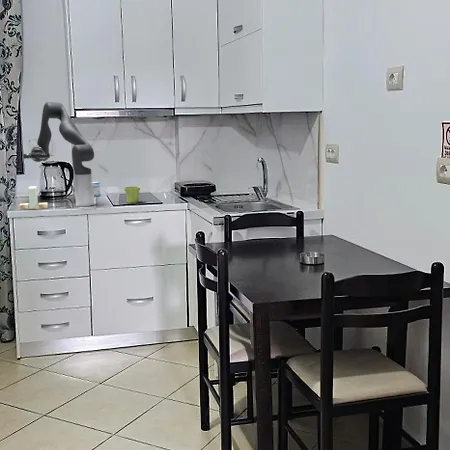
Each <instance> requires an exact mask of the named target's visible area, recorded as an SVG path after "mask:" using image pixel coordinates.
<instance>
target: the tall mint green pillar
mask: <svg viewBox="0 0 450 450" xmlns="http://www.w3.org/2000/svg"><path fill="white" fill-rule="evenodd" d="M27 190H28V203H29V207H30V209H29V210H38V209H37V207H38V204H39V203H38V201H39V200H38V186H29V187H28V188H27Z"/></svg>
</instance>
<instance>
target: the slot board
mask: <svg viewBox="0 0 450 450" xmlns="http://www.w3.org/2000/svg"><path fill="white" fill-rule="evenodd" d="M48 205H49V204H48V202H39V203H38V207H37V209H36V210H44V209H48V207H49V206H48ZM18 209H19V210H20V209H26V210H31V209H30V207H29V202H27V203H26V202H24V203H19V208H18Z"/></svg>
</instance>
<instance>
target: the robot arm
mask: <svg viewBox="0 0 450 450" xmlns="http://www.w3.org/2000/svg"><path fill="white" fill-rule="evenodd" d="M41 114H42V115H41V123H40V129H39V135H38V139H37V141H36V142H37V143H36V144H37V146H34V147H32V149H31V150H30V153H23V159H24V160H26V159H28V160H32V161H34V162H35V163H39V162H46V161H48V160H49V159H50V155H51V154H50V143H51V141H52V131H51V128H50V125H49V120H50V119H58V120H59V121H60V123H59V126H58V130H59V133H60V135H61V136H62V138H63V139H64V140H65V141H66V142H67V143H70V144H72V145H73V146H72V148H71V158H72V168H73V172H74V173H73V174H74V176H73V177H74V194H75V195H74V196H75V206H76V207H90V206H94V205H95V197H94V188H93V187H92V182H93V180H92V179H93V177H92V175H93V174H92V169H91V168H90V167H86V166H84V165H83V163H85V162H90V161H92V160H94V158H95V152H94V149H93V147H92V145H91V144H90V142H88V141H87V140H86V139H85V137H84V136H83V135H82V133H81V132H80V131H79V129H78V128H77V127H76V125H75V123H74V122H73V120H72V119H71V118H70V116H69V115H68V112H67V110H66V108H65V105H63V104H62V103H61V102H56V101H55V102H54V101H53V102H51V101H49V102H45V103H44V105H43V108H42V113H41Z"/></svg>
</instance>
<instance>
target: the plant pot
mask: <svg viewBox="0 0 450 450" xmlns="http://www.w3.org/2000/svg"><path fill="white" fill-rule="evenodd" d="M141 188H142V187H141V186H138V185H137V186H135V185H134V186H133V185H131V186H124V187H123V189H124V191H125V196H126V201H127V203H128V204H136V203H139V199H140V190H141Z"/></svg>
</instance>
